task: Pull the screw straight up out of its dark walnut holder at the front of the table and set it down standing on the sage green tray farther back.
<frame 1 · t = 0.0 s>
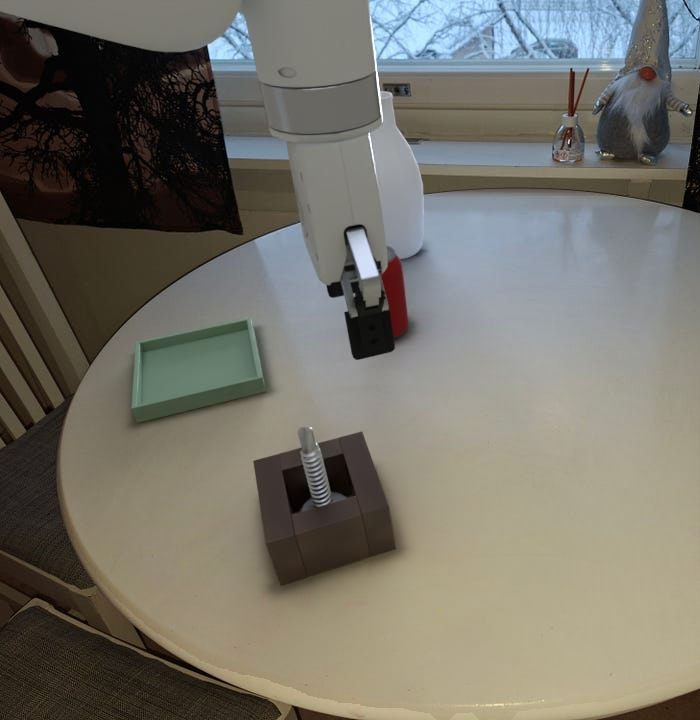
hand: (359, 321, 55), 23 cm above the table, tool pointing down, fingers open, 9 cm apart
screw: (329, 525, 68), on the table
beverage can: (385, 331, 96), on the table
holder: (328, 524, 68), on the table
bottle: (396, 249, 116), on the table
tray: (201, 372, 89), on the table
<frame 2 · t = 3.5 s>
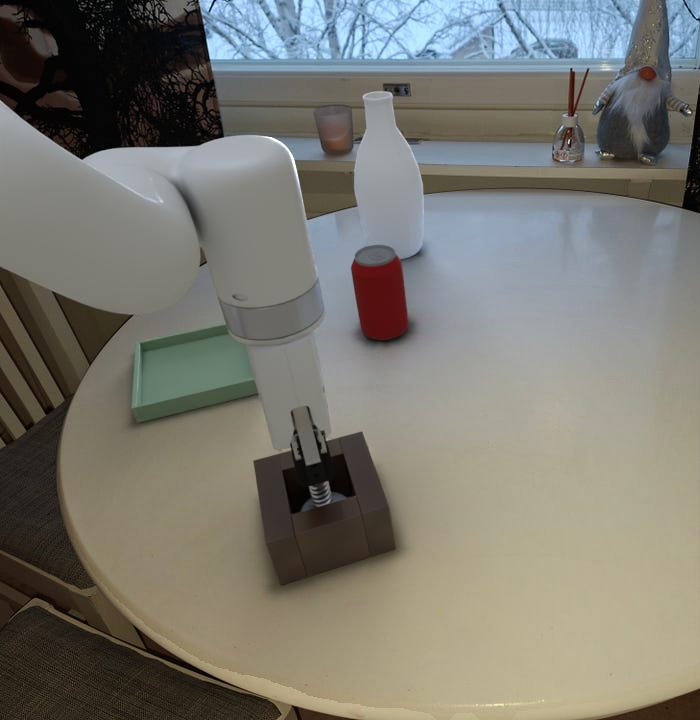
hand: (315, 470, 63), 8 cm above the table, tool pointing down, fingers closed on screw, 2 cm apart
screw: (329, 525, 68), on the table, touching gripper
everything else where it was.
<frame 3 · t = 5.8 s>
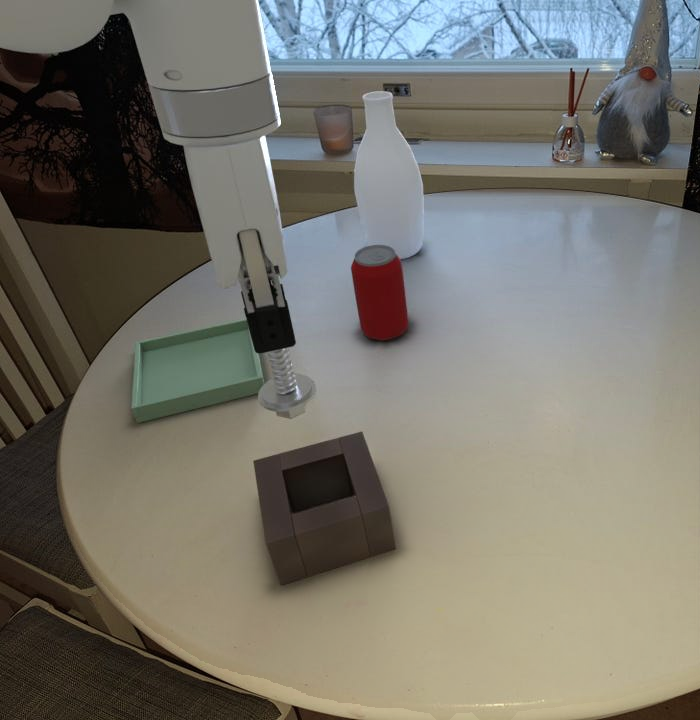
hand: (273, 338, 55), 22 cm above the table, tool pointing down, fingers closed on screw
screw: (291, 411, 60), point 15 cm above the table, touching gripper
everything else where it was.
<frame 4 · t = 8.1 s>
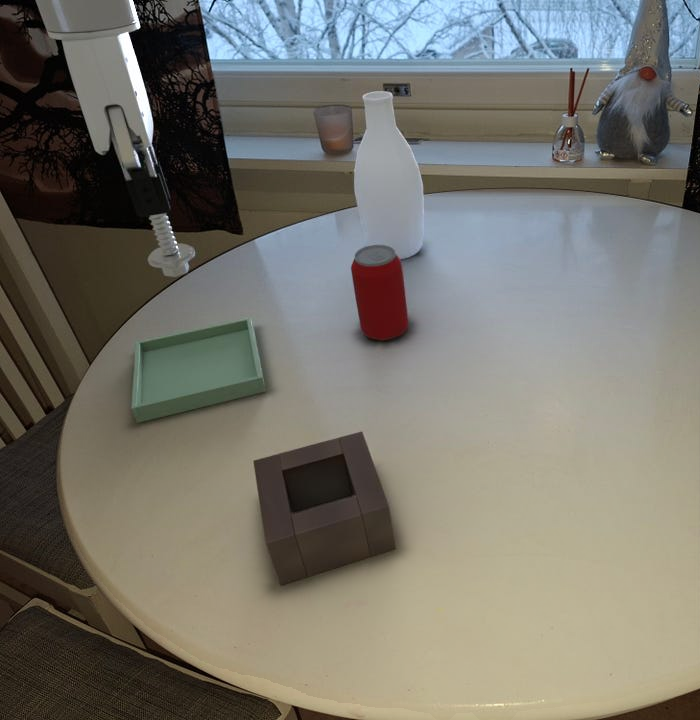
hand: (154, 207, 71), 25 cm above the table, tool pointing down, fingers closed on screw
screw: (177, 273, 75), point 17 cm above the table, touching gripper
everything else where it was.
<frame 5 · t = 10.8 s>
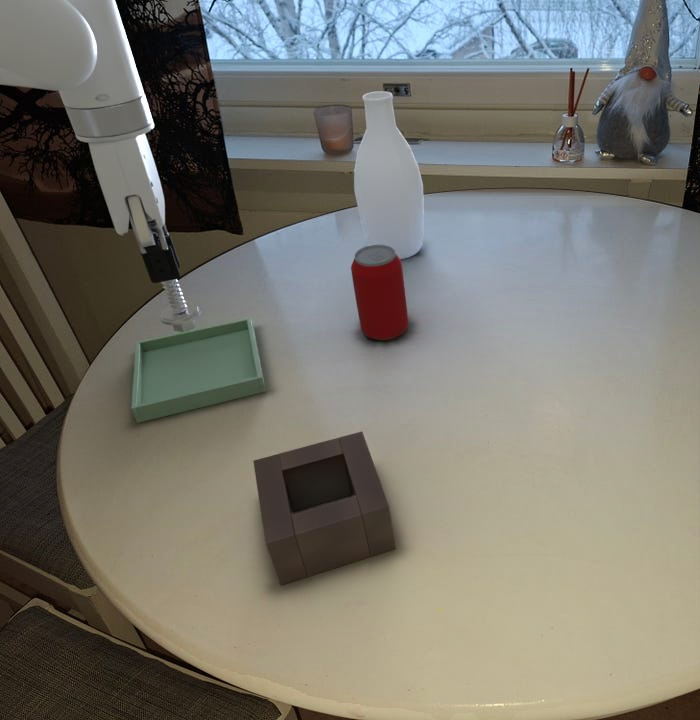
hand: (166, 273, 80), 15 cm above the table, tool pointing down, fingers closed on screw
screw: (186, 327, 85), point 7 cm above the table, touching gripper
everything else where it was.
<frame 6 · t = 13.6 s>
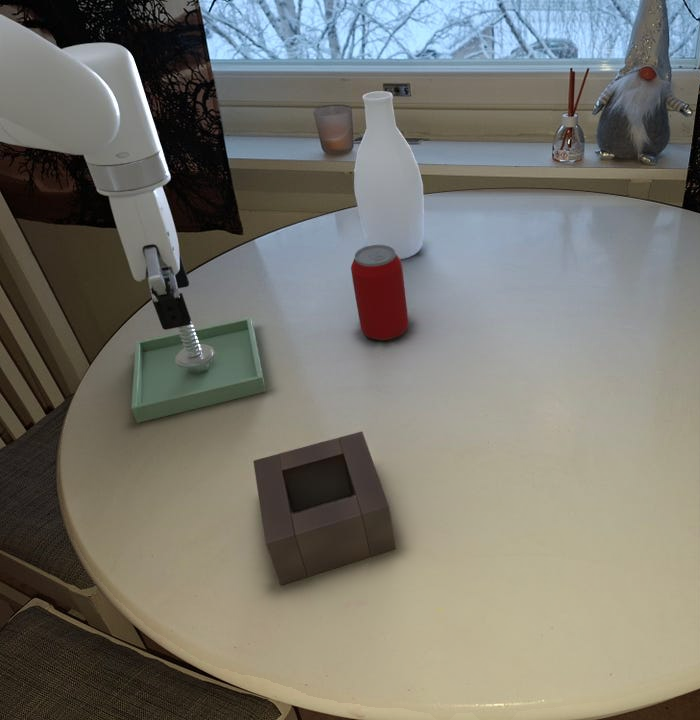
hand: (177, 306, 83), 10 cm above the table, tool pointing down, fingers open, 9 cm apart
screw: (199, 369, 89), point 1 cm above the table, touching tray
everything else where it was.
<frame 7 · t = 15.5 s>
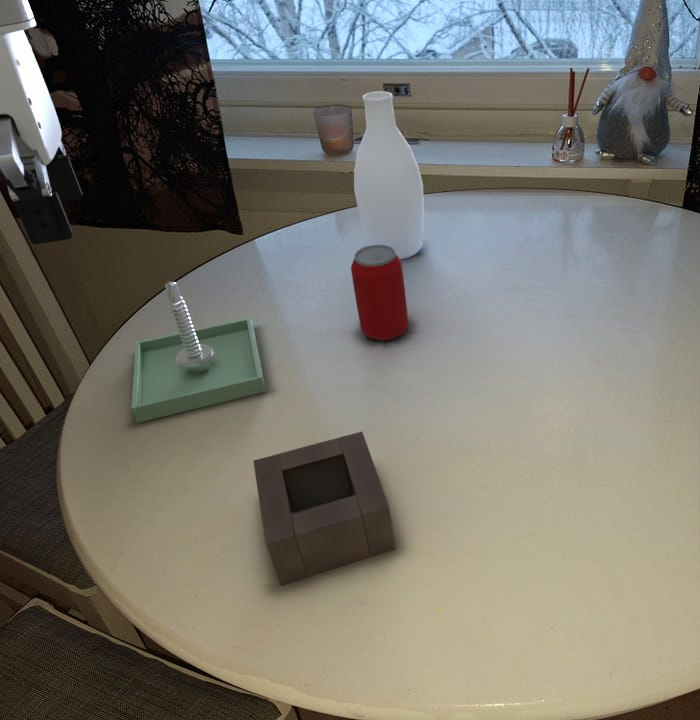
hand: (59, 219, 62), 28 cm above the table, tool pointing down, fingers open, 9 cm apart
nothing on the table moved.
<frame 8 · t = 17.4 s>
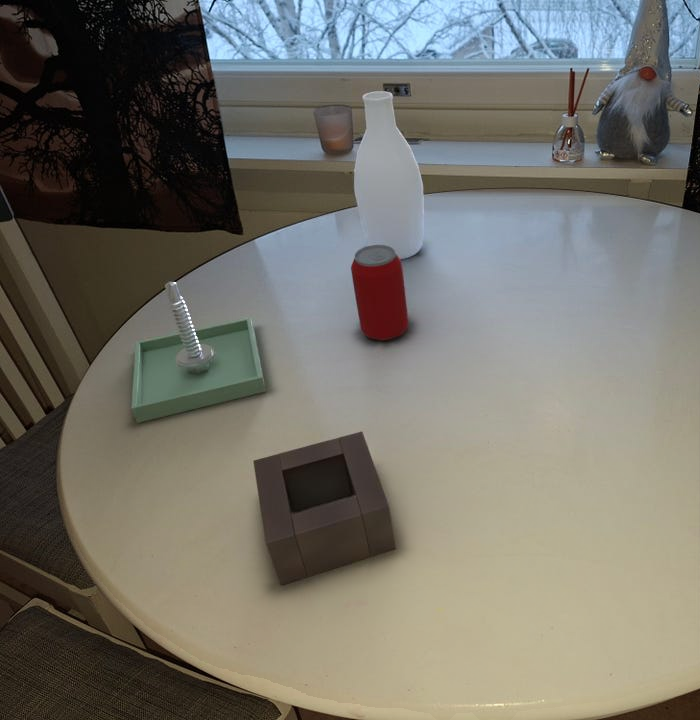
nothing on the table moved.
at the end: screw inside the target area in the tray (0.1 cm from its centre), point 0.6 cm above the tray's base; the gripper is holding nothing; screw tilted 0° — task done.
